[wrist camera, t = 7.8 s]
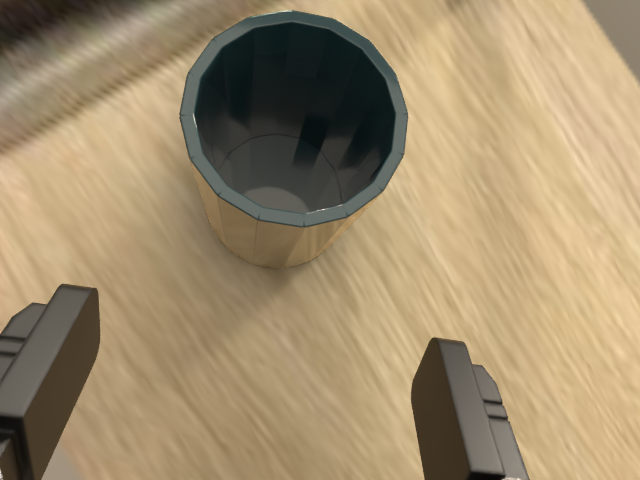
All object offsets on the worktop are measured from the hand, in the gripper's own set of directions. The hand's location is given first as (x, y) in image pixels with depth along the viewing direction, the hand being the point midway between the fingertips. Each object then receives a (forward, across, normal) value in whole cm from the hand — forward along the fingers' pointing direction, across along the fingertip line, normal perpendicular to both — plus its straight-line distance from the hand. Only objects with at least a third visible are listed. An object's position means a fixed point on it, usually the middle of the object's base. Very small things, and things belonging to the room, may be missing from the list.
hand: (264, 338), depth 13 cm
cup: (+12, 0, +3) cm, 12 cm away
